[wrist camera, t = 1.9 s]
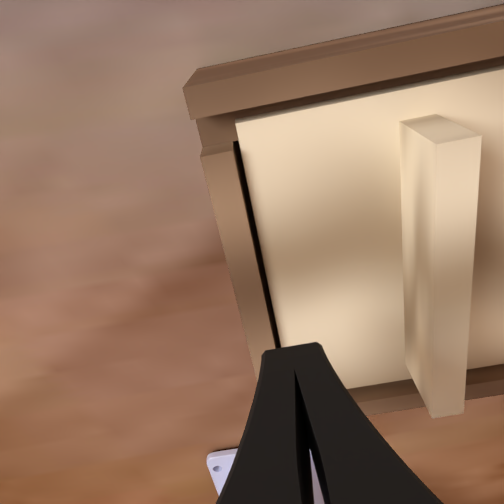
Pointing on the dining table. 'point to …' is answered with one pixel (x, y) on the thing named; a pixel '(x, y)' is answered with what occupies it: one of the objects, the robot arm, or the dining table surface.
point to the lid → (387, 230)
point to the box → (313, 91)
